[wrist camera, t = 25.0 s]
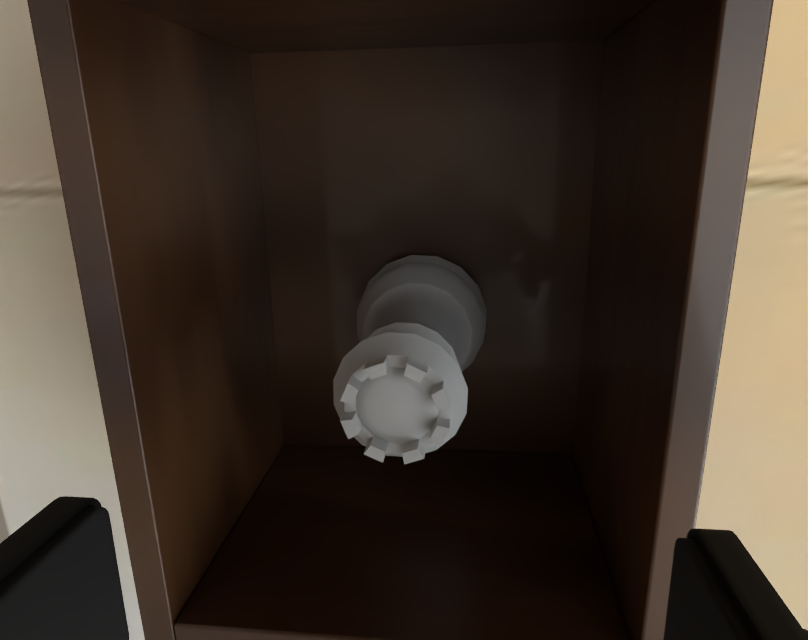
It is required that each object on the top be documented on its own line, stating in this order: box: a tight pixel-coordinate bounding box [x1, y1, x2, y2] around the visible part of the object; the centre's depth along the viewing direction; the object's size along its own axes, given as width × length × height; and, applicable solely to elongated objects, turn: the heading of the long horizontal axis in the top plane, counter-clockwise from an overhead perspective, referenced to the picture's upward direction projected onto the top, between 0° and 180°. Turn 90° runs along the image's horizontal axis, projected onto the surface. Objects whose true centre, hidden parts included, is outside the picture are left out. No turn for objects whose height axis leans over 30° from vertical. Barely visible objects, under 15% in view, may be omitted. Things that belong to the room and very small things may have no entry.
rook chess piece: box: [333, 255, 487, 465], centre depth 17 cm, size 4×4×8 cm
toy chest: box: [27, 0, 773, 640], centre depth 16 cm, size 16×13×10 cm
